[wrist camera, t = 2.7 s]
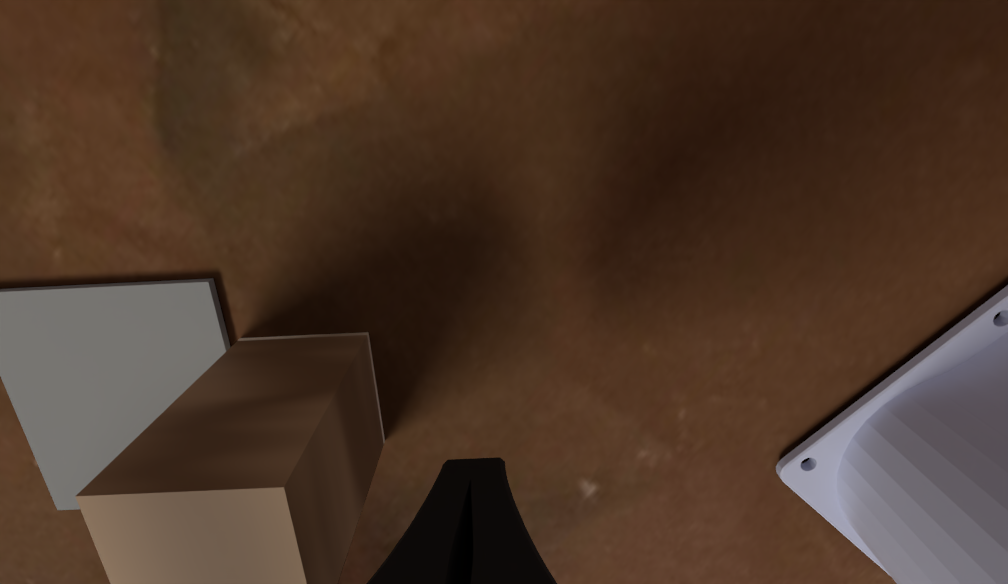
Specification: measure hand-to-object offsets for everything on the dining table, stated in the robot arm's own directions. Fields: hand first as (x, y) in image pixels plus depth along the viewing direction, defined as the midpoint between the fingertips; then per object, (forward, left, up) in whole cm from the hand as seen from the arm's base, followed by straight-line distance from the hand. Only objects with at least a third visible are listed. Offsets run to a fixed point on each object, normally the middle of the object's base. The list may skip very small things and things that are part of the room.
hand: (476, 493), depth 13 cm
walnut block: (+4, -4, -5) cm, 7 cm away
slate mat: (+8, -8, -5) cm, 12 cm away
